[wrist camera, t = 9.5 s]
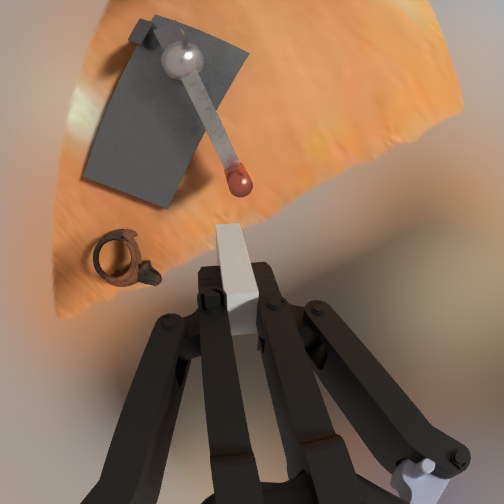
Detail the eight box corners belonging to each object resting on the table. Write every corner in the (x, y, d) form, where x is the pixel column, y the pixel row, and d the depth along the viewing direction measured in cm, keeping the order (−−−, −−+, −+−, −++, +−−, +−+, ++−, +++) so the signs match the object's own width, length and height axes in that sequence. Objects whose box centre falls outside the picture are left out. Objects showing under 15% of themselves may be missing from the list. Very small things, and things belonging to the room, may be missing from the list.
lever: (152, 39, 27) (139, 26, 20) (184, 24, 27) (180, 7, 20) (221, 179, 40) (227, 204, 32) (250, 166, 39) (263, 188, 32)
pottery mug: (100, 271, 47) (81, 276, 39) (117, 222, 48) (99, 218, 39) (159, 297, 49) (148, 307, 41) (177, 246, 49) (169, 247, 41)
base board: (156, 17, 27) (148, 4, 22) (247, 54, 33) (256, 48, 27) (87, 172, 37) (70, 188, 32) (169, 204, 43) (164, 224, 37)
